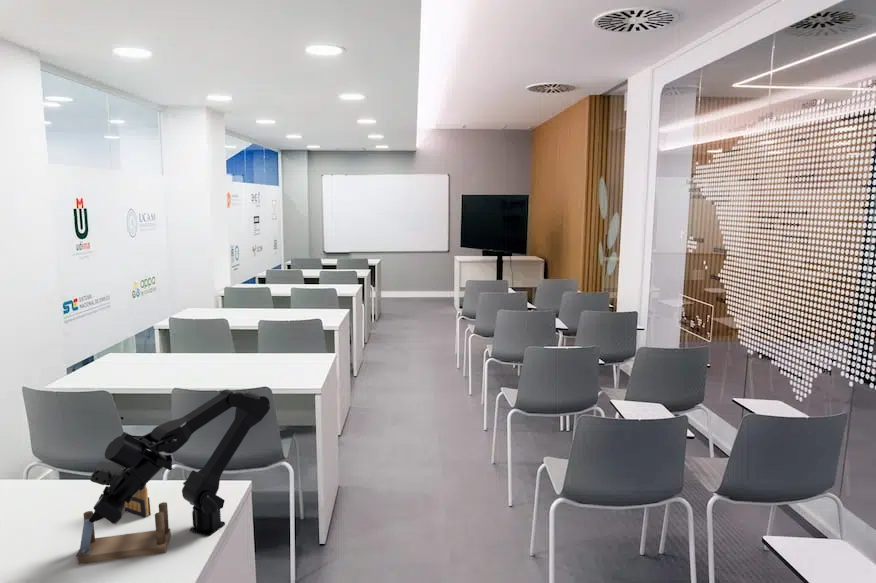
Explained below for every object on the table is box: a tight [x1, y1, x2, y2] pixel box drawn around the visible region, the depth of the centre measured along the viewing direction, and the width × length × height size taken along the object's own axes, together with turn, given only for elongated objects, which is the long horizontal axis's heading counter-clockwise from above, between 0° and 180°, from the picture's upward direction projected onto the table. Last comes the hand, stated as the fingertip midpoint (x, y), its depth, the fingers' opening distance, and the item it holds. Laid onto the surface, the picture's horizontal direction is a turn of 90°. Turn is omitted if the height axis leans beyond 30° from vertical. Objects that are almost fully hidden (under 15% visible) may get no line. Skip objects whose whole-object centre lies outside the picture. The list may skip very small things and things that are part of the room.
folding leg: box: [79, 519, 93, 553], centre depth 143 cm, size 2×2×8 cm
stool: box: [75, 501, 172, 566], centre depth 147 cm, size 20×8×10 cm, turn 105°
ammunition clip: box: [124, 484, 152, 519], centre depth 166 cm, size 11×2×12 cm, turn 64°
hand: (90, 520), depth 142 cm, fingers closed, pressing on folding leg
